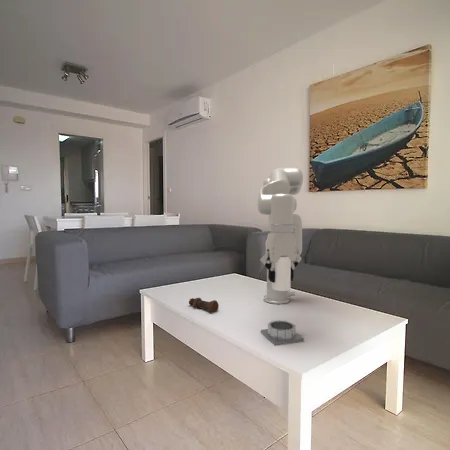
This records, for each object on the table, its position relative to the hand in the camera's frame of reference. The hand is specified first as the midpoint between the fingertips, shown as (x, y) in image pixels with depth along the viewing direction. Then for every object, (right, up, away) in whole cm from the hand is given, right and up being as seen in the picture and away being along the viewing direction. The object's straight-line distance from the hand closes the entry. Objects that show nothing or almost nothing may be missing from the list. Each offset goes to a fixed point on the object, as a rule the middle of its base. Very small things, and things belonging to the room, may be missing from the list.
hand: (280, 280), depth 106 cm
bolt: (-30, -19, +30) cm, 46 cm away
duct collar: (0, -20, +1) cm, 20 cm away
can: (0, -3, 0) cm, 3 cm away
